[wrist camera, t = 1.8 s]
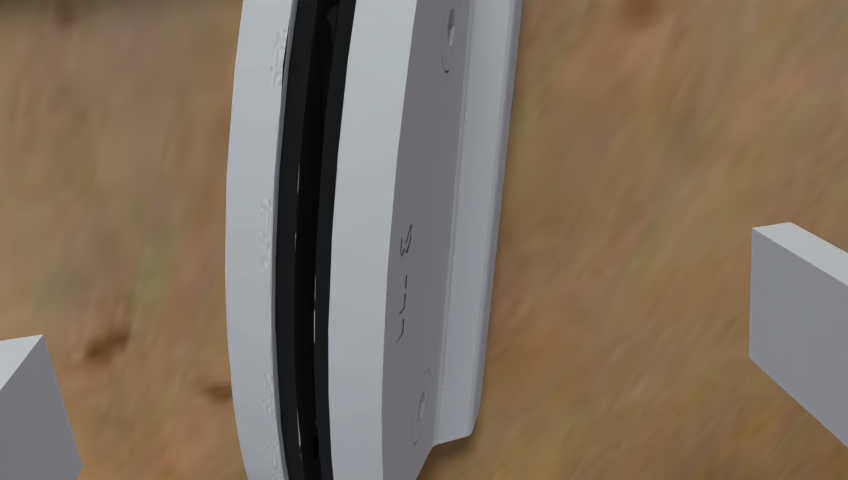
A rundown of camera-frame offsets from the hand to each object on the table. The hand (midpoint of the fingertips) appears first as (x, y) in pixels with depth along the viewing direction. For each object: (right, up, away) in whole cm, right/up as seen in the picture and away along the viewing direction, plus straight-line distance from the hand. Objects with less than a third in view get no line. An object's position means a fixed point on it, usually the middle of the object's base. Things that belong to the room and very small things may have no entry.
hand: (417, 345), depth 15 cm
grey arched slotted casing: (-1, +4, +10) cm, 11 cm away
